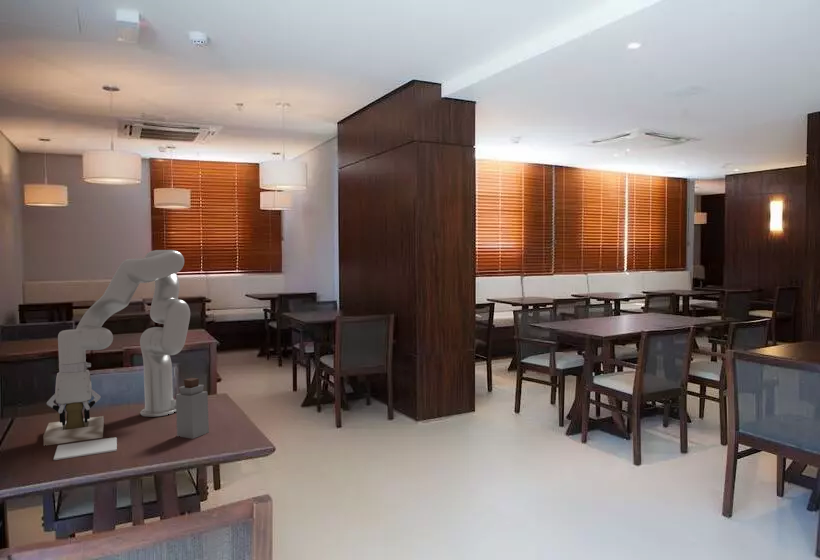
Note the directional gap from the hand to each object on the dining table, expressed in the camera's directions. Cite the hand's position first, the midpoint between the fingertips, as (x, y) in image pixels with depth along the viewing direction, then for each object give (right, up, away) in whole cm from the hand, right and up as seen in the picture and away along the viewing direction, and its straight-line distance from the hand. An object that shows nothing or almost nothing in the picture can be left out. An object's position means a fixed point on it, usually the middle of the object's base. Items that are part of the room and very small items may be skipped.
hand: (75, 422), depth 186 cm
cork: (0, -4, 0) cm, 4 cm away
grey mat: (+12, -5, -14) cm, 19 cm away
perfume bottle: (+39, -4, -1) cm, 39 cm away
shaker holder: (0, -4, 0) cm, 4 cm away
